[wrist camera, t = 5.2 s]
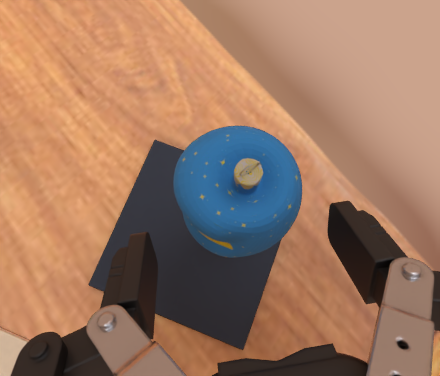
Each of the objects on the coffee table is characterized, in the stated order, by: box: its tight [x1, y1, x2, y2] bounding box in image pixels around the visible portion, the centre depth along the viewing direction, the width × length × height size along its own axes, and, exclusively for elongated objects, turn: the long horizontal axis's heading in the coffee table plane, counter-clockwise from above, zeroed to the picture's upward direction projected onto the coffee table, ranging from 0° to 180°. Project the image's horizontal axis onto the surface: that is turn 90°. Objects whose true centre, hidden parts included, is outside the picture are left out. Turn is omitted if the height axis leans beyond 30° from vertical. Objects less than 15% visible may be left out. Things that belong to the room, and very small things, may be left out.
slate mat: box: [89, 140, 281, 350], centre depth 24 cm, size 12×12×1 cm
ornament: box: [173, 126, 302, 258], centre depth 17 cm, size 5×5×15 cm
